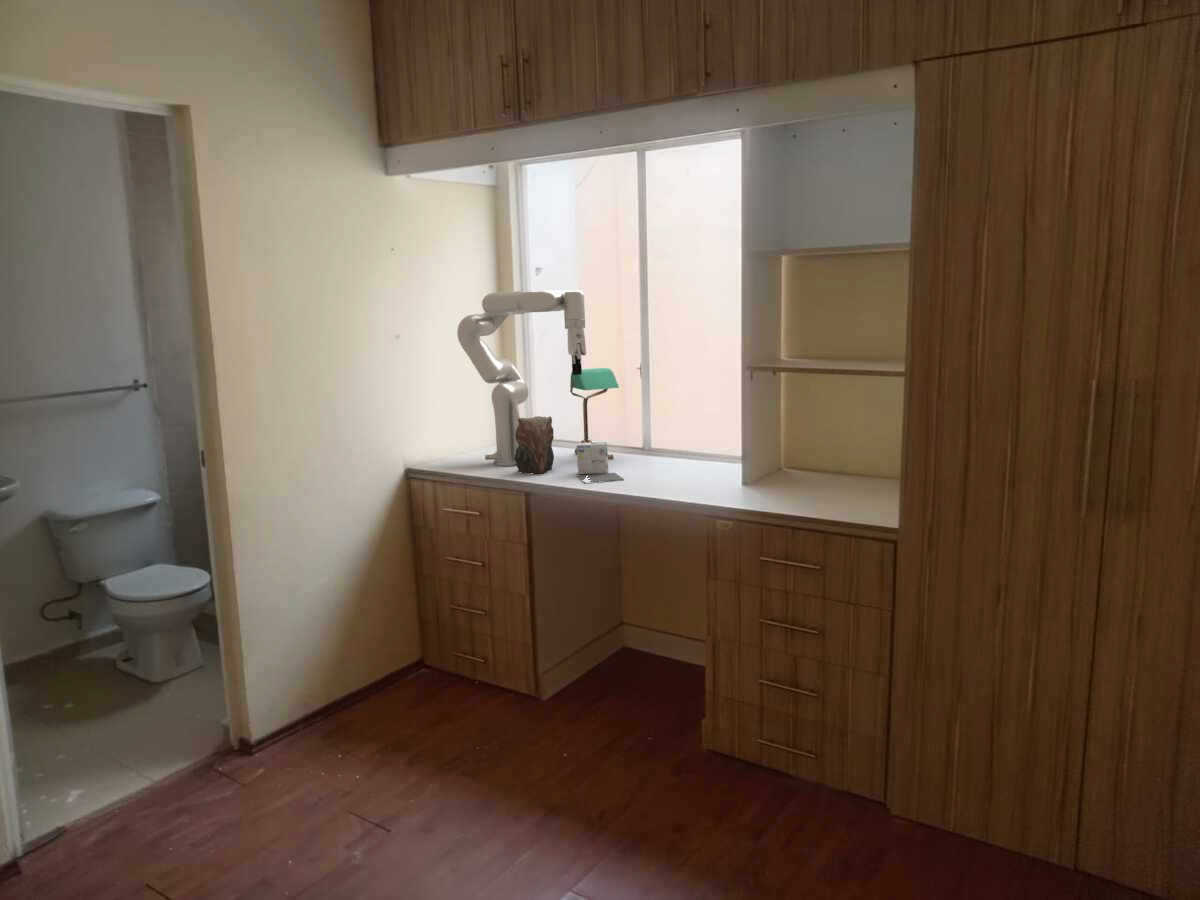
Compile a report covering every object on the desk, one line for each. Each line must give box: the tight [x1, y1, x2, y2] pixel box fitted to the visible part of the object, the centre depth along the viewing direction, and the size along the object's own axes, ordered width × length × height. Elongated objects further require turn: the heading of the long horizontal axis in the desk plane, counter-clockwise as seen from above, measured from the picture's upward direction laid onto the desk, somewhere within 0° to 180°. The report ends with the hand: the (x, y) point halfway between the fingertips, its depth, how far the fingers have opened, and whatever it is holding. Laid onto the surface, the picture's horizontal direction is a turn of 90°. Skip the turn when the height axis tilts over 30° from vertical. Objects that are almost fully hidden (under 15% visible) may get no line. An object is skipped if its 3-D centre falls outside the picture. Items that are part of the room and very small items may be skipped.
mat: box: [576, 472, 625, 483], centre depth 305 cm, size 14×12×1 cm
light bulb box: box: [576, 441, 609, 475], centre depth 314 cm, size 11×7×11 cm, turn 84°
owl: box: [514, 415, 555, 475], centre depth 321 cm, size 13×13×20 cm
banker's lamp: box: [569, 367, 620, 460], centre depth 343 cm, size 16×21×35 cm
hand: (577, 374), depth 320 cm, fingers closed
